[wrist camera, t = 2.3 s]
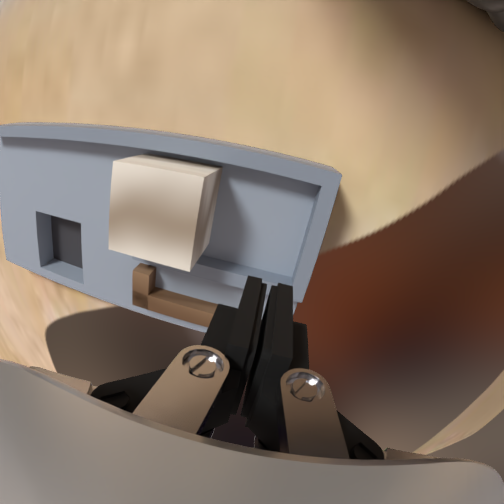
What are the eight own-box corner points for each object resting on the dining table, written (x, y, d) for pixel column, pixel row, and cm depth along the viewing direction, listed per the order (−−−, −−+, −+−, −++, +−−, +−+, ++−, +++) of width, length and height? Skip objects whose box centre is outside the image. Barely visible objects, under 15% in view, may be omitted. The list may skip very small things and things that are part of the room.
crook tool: (140, 262, 22) (132, 270, 21) (251, 292, 22) (249, 302, 21) (139, 296, 24) (132, 304, 22) (243, 325, 23) (240, 336, 22)
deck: (17, 122, 21) (-10, 126, 17) (332, 167, 20) (342, 174, 17) (20, 251, 27) (-2, 265, 23) (281, 332, 26) (279, 363, 23)
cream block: (147, 153, 19) (113, 161, 15) (222, 166, 19) (203, 177, 15) (139, 226, 21) (108, 249, 17) (209, 243, 21) (189, 271, 17)
